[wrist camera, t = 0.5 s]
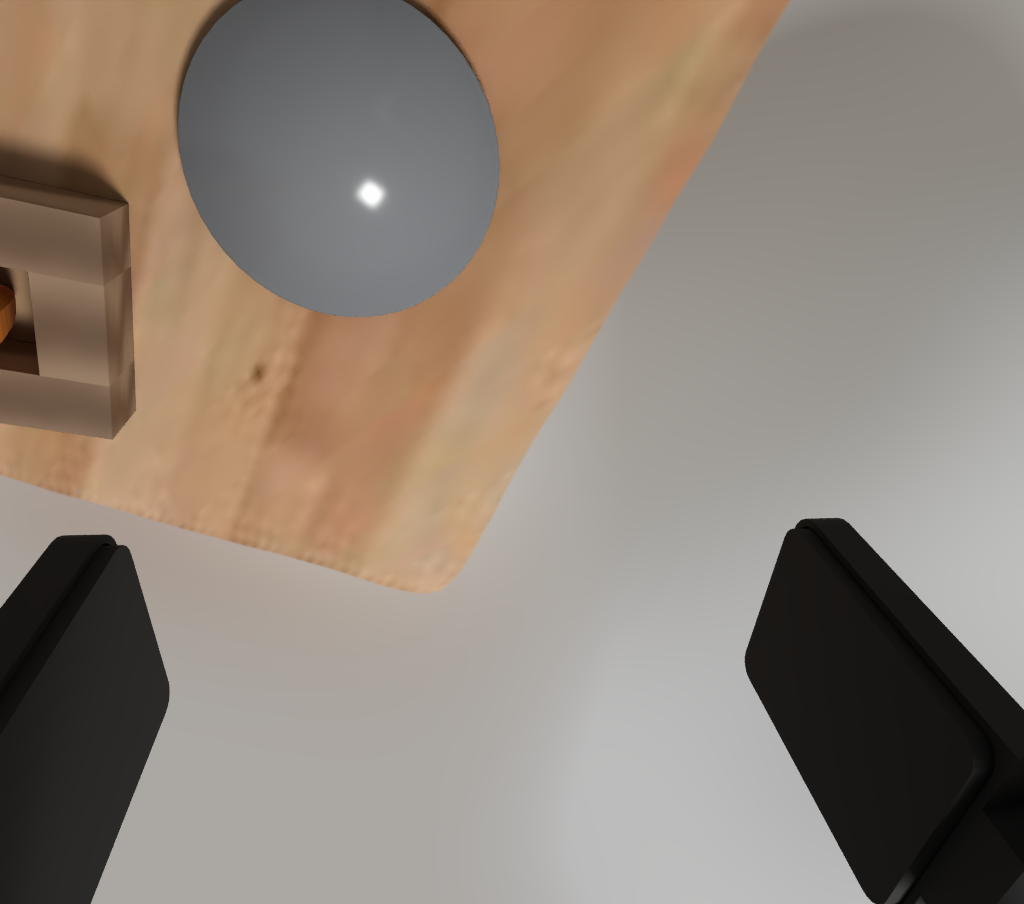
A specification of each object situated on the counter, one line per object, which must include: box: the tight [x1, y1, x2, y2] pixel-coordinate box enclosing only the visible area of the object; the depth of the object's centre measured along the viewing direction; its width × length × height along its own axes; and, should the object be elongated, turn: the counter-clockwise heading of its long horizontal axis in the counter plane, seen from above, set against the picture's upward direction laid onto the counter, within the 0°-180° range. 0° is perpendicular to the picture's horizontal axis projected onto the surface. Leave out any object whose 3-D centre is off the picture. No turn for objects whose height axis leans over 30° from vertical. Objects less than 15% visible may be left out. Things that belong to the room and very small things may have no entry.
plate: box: [178, 0, 499, 317], centre depth 38 cm, size 18×18×1 cm
